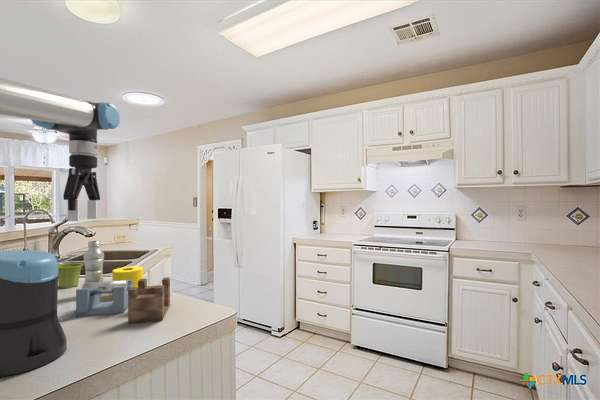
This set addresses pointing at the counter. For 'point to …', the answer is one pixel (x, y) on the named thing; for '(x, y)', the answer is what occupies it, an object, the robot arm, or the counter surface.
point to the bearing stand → (148, 301)
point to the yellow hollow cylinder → (128, 274)
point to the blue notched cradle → (91, 304)
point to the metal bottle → (93, 262)
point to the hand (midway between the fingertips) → (83, 220)
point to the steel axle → (104, 286)
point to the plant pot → (69, 274)
